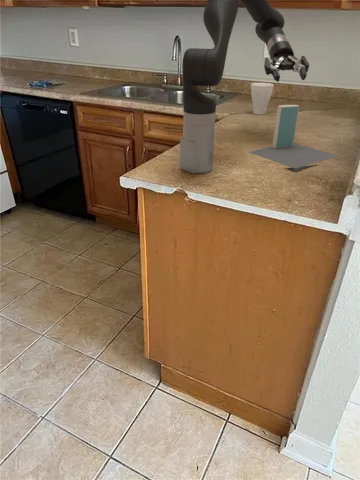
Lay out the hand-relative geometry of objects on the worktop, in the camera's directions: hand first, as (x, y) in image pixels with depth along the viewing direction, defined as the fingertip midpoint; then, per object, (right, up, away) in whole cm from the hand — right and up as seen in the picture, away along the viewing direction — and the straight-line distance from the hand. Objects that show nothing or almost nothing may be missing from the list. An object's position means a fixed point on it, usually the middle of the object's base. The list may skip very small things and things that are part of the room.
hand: (291, 78), depth 124 cm
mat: (+2, -25, +4) cm, 25 cm away
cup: (+3, +9, +63) cm, 64 cm away
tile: (0, -20, +10) cm, 22 cm away
